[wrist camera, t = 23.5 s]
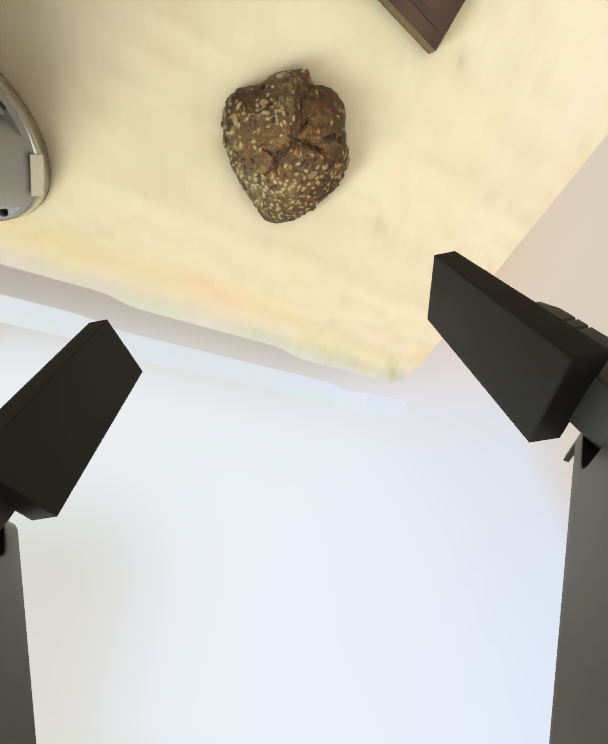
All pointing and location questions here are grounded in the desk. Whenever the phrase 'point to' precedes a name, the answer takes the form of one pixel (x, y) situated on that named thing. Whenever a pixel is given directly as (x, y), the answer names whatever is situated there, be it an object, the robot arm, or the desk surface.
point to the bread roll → (286, 143)
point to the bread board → (425, 18)
